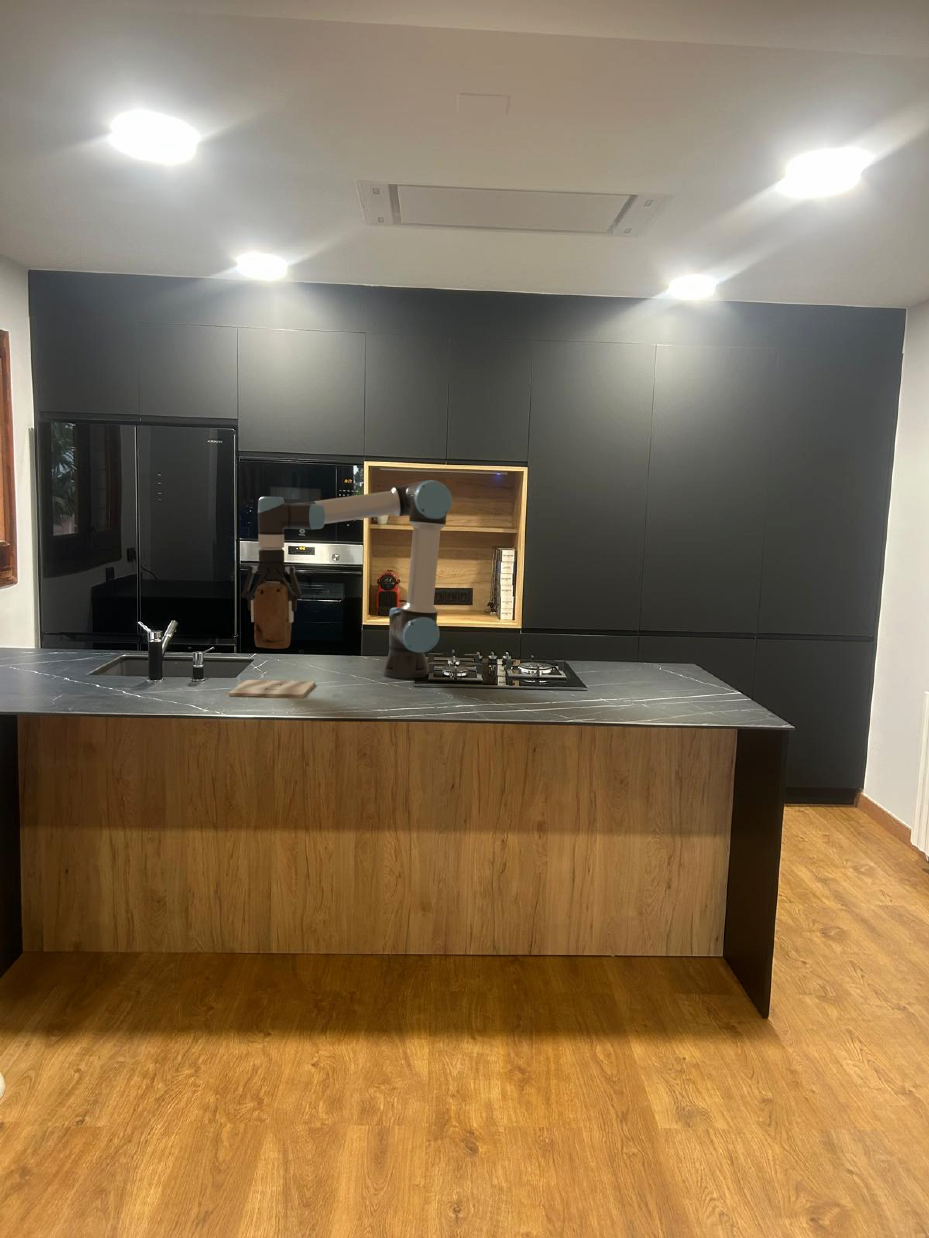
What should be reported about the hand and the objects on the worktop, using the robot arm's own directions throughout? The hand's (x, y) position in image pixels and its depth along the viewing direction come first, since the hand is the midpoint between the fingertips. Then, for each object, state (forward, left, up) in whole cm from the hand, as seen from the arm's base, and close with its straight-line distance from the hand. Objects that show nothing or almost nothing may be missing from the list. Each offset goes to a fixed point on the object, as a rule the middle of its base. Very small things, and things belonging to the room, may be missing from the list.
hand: (272, 621), depth 255 cm
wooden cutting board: (0, 0, -21) cm, 21 cm away
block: (0, 0, -8) cm, 8 cm away
